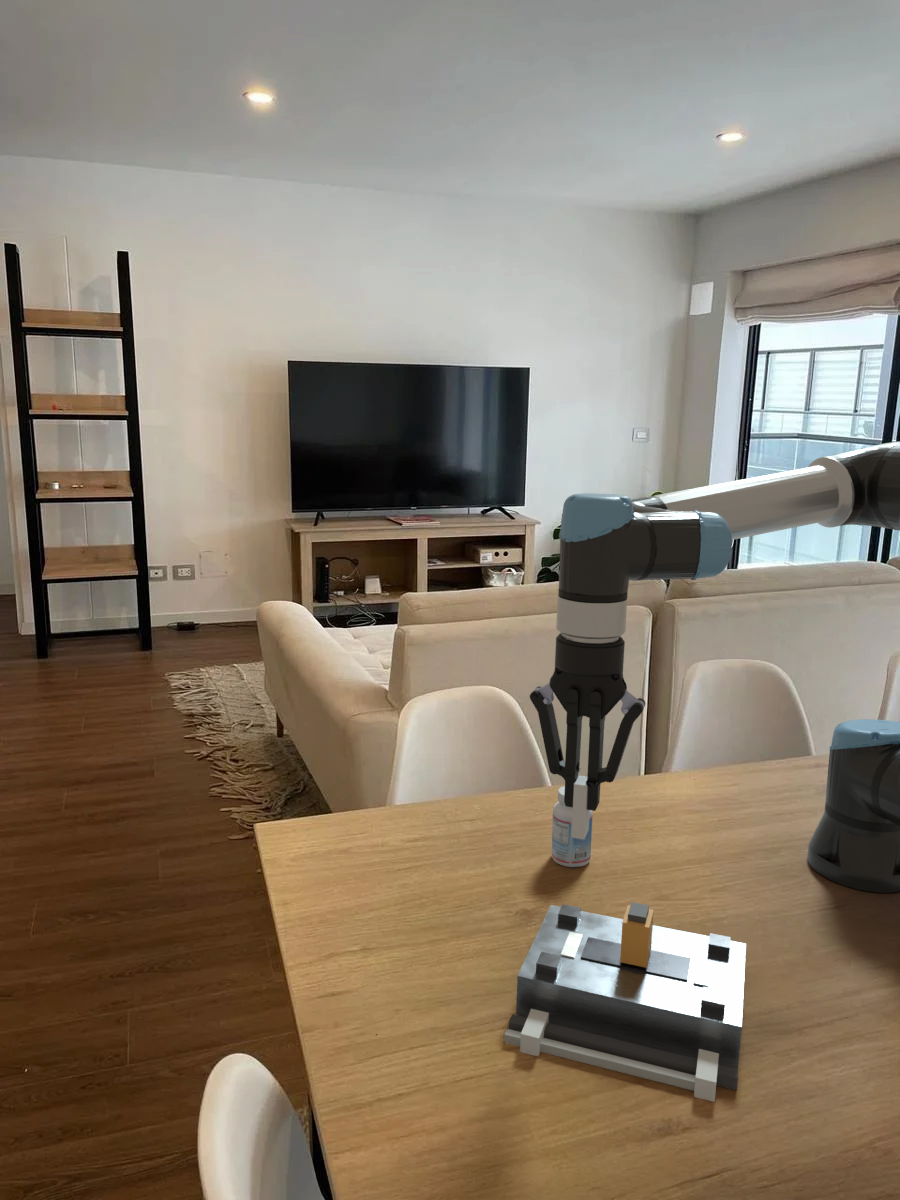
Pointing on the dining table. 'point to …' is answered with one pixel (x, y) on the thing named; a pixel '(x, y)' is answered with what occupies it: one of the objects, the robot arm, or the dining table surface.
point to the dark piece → (621, 1055)
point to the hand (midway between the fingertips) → (580, 833)
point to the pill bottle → (568, 836)
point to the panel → (636, 985)
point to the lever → (637, 935)
